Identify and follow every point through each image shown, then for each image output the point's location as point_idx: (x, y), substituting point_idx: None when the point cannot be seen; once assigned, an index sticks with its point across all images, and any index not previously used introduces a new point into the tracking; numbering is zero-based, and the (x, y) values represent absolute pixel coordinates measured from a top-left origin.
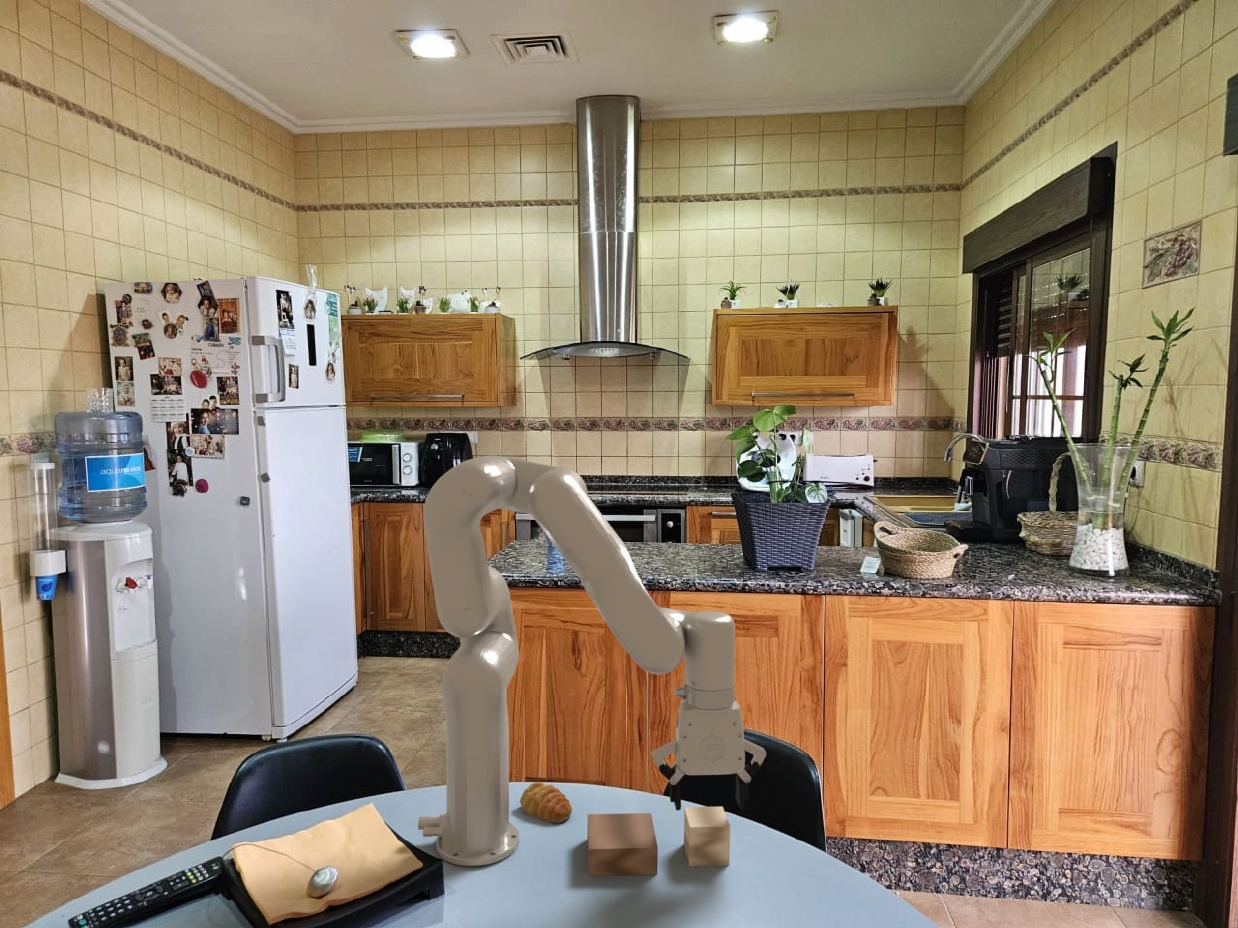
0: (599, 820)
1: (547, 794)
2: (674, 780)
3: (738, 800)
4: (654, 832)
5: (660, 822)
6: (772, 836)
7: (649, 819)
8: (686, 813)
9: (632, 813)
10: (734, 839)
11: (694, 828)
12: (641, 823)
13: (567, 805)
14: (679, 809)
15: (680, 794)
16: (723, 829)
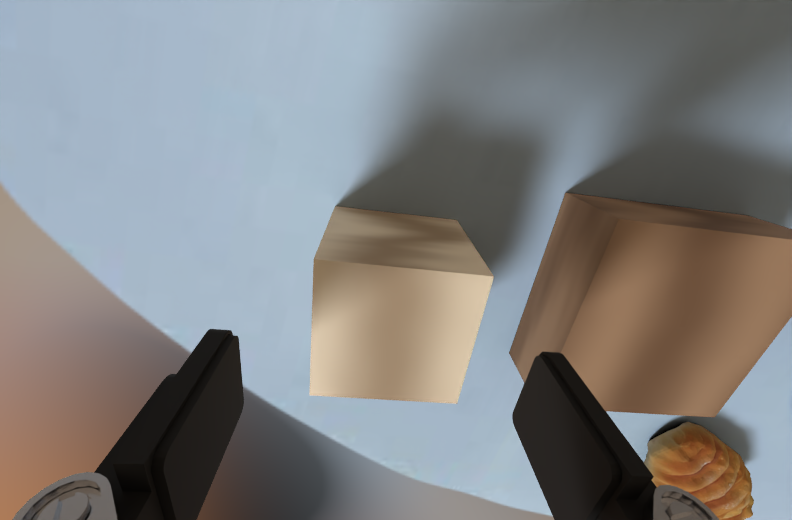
0: (702, 387)
1: (721, 497)
2: (679, 518)
3: (230, 375)
4: (579, 310)
5: (460, 404)
6: (172, 321)
7: None
8: (465, 367)
9: None
10: (288, 321)
11: (472, 272)
12: (592, 361)
13: (678, 463)
14: (546, 352)
15: (584, 417)
16: (346, 255)
